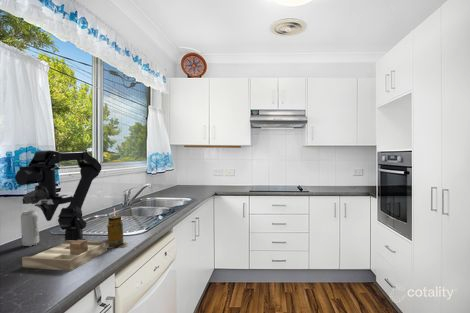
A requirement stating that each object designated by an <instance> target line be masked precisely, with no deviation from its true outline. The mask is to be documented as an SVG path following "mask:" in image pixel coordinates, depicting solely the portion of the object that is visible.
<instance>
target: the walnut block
mask: <svg viewBox="0 0 470 313" xmlns="http://www.w3.org/2000/svg"><path fill="white" fill-rule="evenodd" d="M87 241H88V240H87V239H86V240H77V241H74V242H72V243H70V254H75V255H80V254H82V253H84V252H86V251H88V244H87Z"/></svg>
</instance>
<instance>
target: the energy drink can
mask: <svg viewBox="0 0 470 313" xmlns="http://www.w3.org/2000/svg"><path fill="white" fill-rule="evenodd" d="M20 226H21V227H20V228H21V229H20V230H21V243H22V245H23V247H24V246H29V247H33V246H32V245H34V246H36V245H38V244H39V242H40V228H39V213H38V212H37V209H28V210H23V211H21V215H20ZM37 243H38V244H37ZM35 244H36V245H35Z"/></svg>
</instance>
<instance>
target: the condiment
mask: <svg viewBox="0 0 470 313" xmlns="http://www.w3.org/2000/svg"><path fill="white" fill-rule="evenodd" d="M121 217H122V216H121V215H115V216H114V215H113V216H109V217H108V218H107V222H108V223H107V226H106V227H107V249H110V248H111V249H113V248H123V247H127V246H128V245H129V244H130V243H131V240H124V227H123V226H124V224H123V219H122V220H121Z"/></svg>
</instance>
